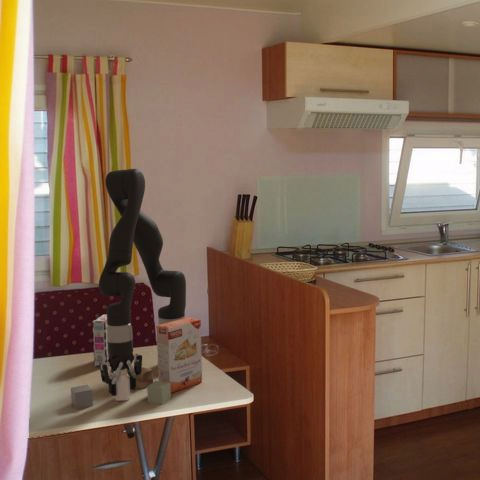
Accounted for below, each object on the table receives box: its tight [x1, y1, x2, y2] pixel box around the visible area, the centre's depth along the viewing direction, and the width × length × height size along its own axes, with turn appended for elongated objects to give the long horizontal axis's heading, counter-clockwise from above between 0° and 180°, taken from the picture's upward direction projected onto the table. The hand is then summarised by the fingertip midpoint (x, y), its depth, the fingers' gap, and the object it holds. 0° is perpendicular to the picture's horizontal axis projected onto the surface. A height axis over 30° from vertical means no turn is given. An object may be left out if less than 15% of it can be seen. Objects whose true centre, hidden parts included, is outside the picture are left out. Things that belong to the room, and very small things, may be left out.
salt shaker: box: [114, 368, 131, 402], centre depth 200 cm, size 4×4×10 cm
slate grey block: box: [70, 384, 94, 410], centre depth 197 cm, size 5×5×5 cm
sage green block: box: [146, 380, 172, 405], centre depth 199 cm, size 5×5×5 cm
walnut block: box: [135, 366, 154, 390], centre depth 212 cm, size 5×5×5 cm
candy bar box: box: [91, 314, 109, 368], centre depth 237 cm, size 11×5×16 cm, turn 172°
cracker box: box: [156, 316, 203, 394], centre depth 209 cm, size 14×6×21 cm, turn 137°
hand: (122, 392), depth 201 cm, fingers open, 6 cm apart
